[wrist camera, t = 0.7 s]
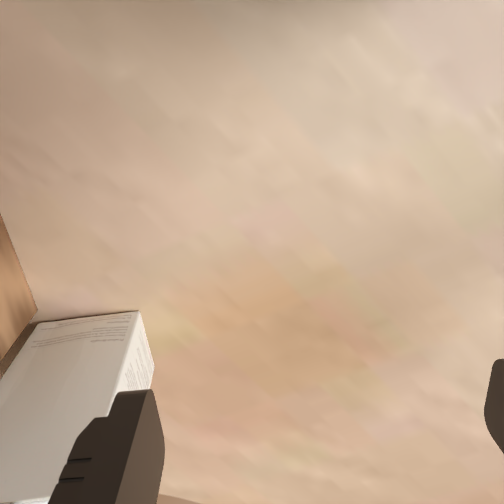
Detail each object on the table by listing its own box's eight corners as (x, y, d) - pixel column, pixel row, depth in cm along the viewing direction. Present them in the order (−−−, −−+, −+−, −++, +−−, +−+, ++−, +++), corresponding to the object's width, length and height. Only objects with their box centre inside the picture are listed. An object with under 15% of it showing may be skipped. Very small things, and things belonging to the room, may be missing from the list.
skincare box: (61, 374, 34) (-48, 588, 21) (36, 316, 31) (-109, 522, 18) (161, 364, 34) (115, 572, 21) (145, 305, 31) (79, 503, 18)
